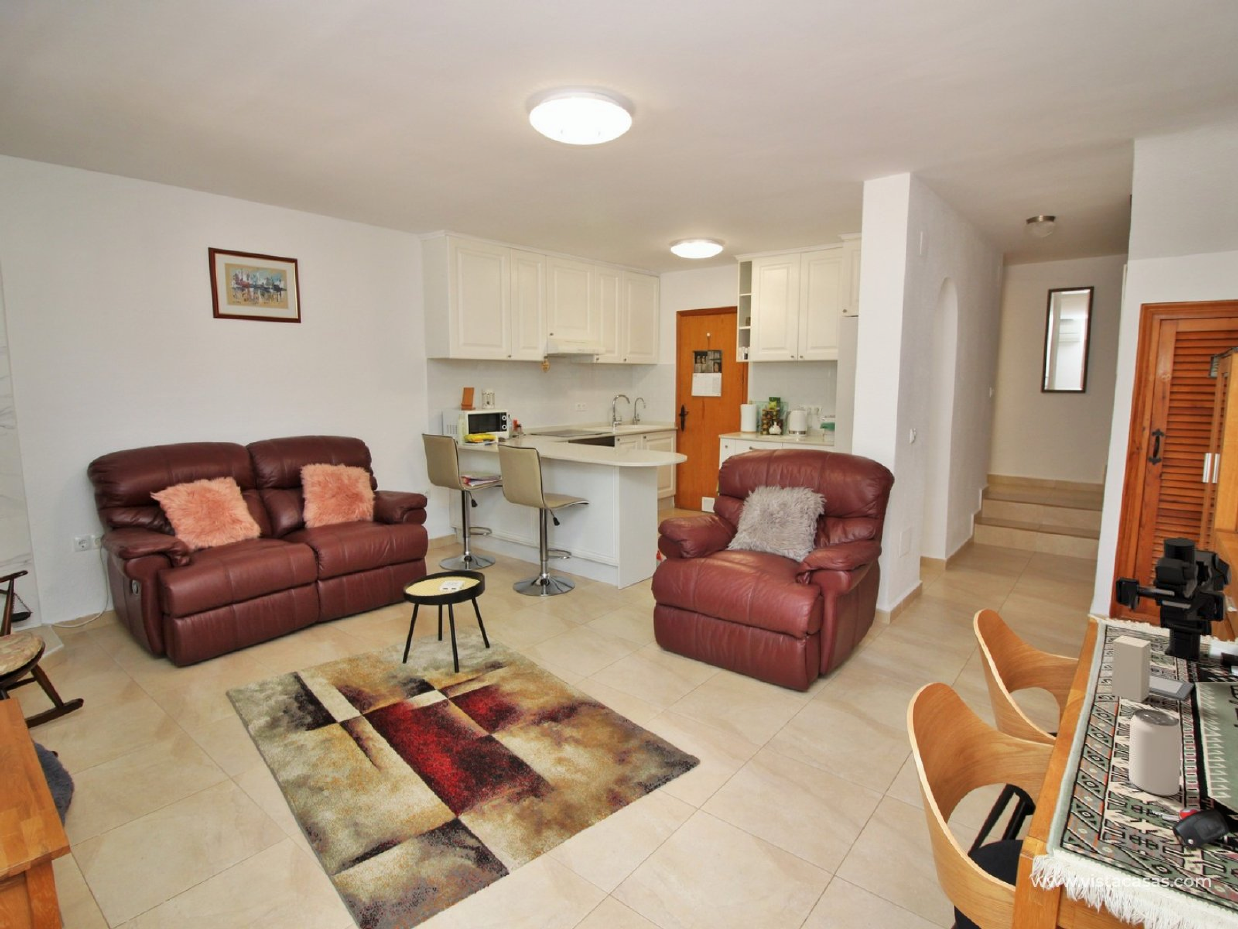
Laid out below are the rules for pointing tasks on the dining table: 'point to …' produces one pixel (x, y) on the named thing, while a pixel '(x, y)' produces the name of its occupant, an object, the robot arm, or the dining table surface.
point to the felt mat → (1169, 687)
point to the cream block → (1131, 668)
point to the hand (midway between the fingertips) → (1157, 612)
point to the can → (1155, 752)
